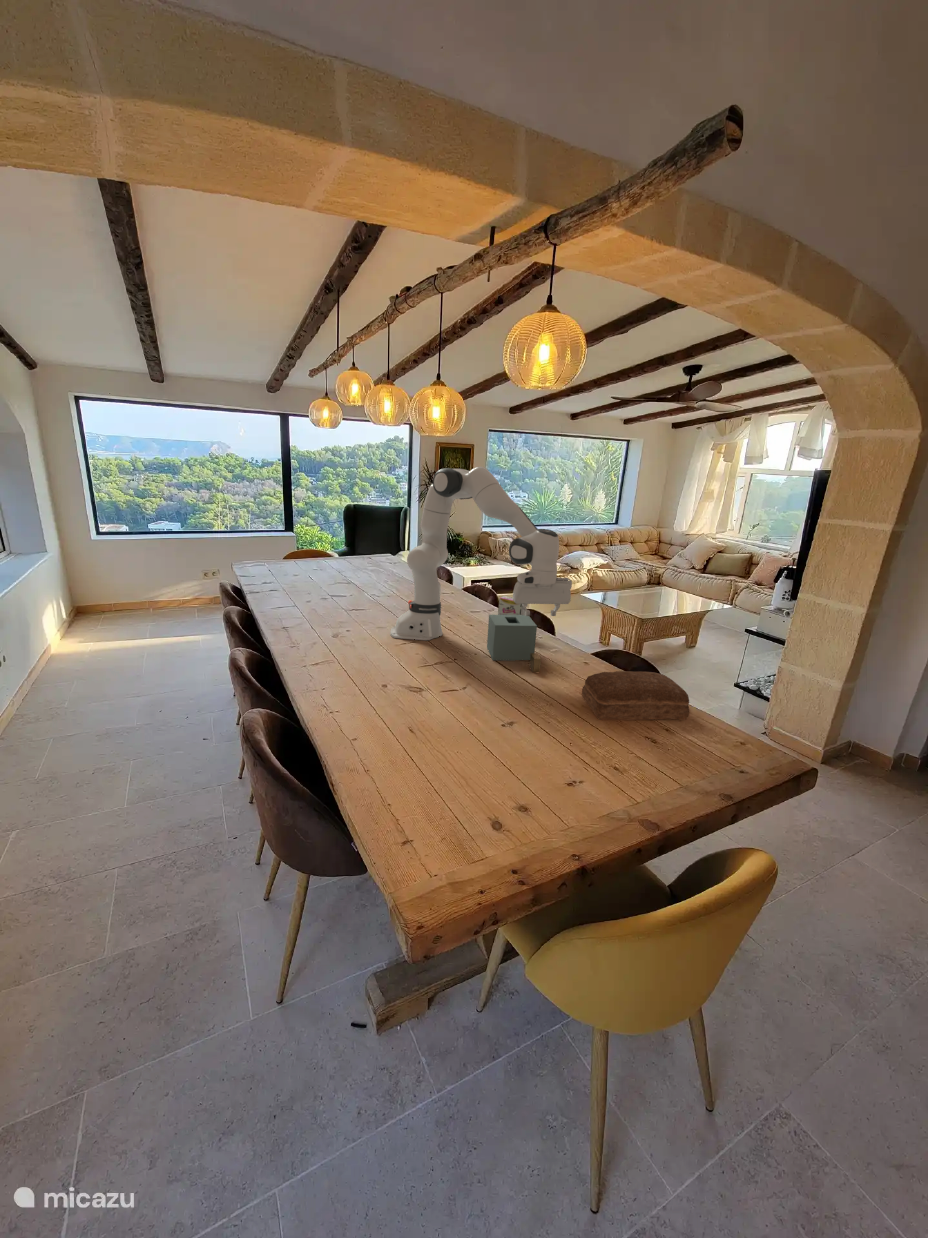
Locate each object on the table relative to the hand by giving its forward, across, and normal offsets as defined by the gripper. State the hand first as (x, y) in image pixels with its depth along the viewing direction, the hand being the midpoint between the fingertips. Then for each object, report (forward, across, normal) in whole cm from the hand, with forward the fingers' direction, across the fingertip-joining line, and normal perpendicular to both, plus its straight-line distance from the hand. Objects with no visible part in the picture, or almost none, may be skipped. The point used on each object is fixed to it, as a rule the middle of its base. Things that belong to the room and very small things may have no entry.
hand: (540, 615), depth 173 cm
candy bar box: (+21, +1, -40) cm, 45 cm away
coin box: (+20, +6, -16) cm, 27 cm away
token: (+21, 0, 0) cm, 21 cm away
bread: (+22, -23, +30) cm, 44 cm away
